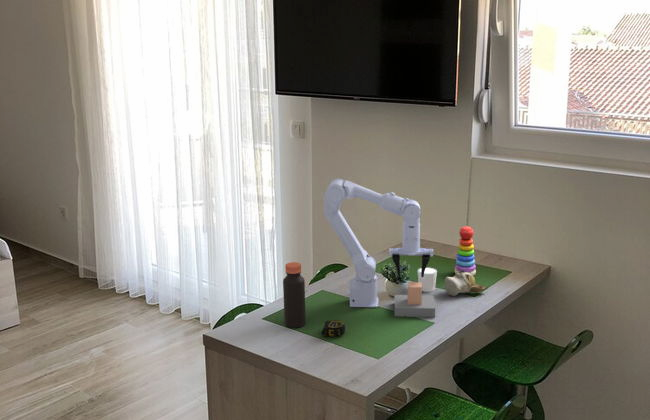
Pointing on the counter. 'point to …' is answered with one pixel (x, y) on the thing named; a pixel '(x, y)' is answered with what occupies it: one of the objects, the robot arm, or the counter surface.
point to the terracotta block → (415, 293)
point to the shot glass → (427, 279)
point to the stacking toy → (465, 252)
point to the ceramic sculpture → (462, 284)
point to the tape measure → (333, 328)
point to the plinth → (414, 307)
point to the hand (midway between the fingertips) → (410, 275)
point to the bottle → (294, 296)
